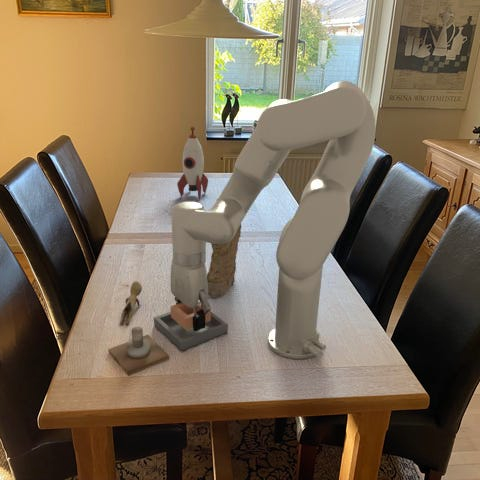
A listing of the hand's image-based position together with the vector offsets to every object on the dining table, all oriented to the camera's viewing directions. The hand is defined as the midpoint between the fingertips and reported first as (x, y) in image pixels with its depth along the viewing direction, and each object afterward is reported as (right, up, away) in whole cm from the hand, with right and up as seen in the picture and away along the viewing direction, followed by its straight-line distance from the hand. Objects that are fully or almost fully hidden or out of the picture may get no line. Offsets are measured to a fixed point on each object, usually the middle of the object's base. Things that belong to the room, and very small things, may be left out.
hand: (190, 321), depth 120 cm
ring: (0, +1, 0) cm, 1 cm away
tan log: (+7, +5, +18) cm, 20 cm away
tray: (0, -2, +1) cm, 3 cm away
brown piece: (-11, -6, -9) cm, 15 cm away
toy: (-8, +39, +97) cm, 105 cm away
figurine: (-16, +1, +9) cm, 19 cm away
